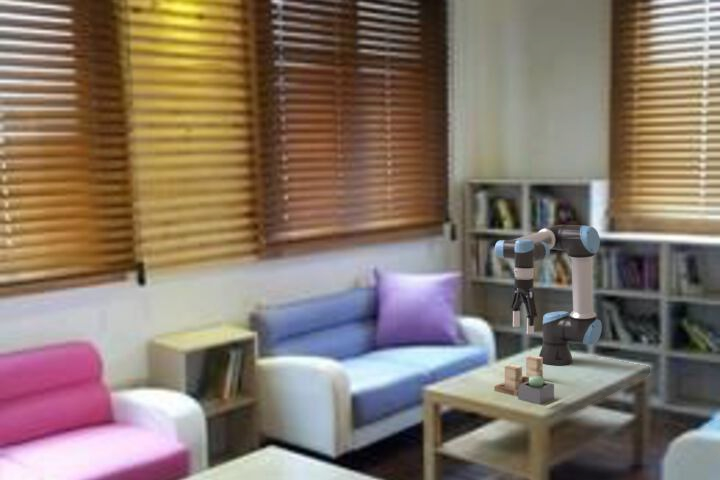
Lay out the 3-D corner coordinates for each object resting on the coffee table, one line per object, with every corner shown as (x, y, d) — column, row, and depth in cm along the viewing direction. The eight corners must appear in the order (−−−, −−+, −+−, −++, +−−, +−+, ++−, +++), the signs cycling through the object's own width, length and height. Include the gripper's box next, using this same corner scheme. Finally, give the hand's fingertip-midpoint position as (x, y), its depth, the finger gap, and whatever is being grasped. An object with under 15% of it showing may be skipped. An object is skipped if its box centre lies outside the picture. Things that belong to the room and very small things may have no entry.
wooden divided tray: (522, 383, 352) (522, 375, 352) (544, 388, 345) (544, 380, 344) (494, 393, 338) (494, 386, 338) (517, 399, 331) (517, 391, 330)
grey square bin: (532, 396, 334) (532, 379, 333) (553, 401, 327) (554, 384, 326) (518, 402, 327) (518, 384, 326) (539, 407, 320) (540, 389, 319)
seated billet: (511, 387, 342) (511, 364, 341) (521, 390, 338) (522, 366, 337) (504, 390, 338) (504, 366, 337) (514, 393, 335) (514, 368, 334)
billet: (532, 377, 360) (532, 355, 359) (542, 380, 356) (542, 357, 355) (526, 380, 356) (526, 357, 355) (536, 382, 353) (536, 359, 352)
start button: (533, 382, 330) (534, 374, 330) (546, 384, 326) (546, 377, 326) (526, 385, 326) (526, 377, 326) (538, 388, 322) (538, 380, 322)
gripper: (503, 274, 344) (502, 324, 346) (528, 282, 320) (527, 337, 322) (519, 273, 345) (519, 323, 348) (546, 282, 321) (545, 336, 323)
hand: (523, 330), depth 335 cm, fingers open, 13 cm apart
